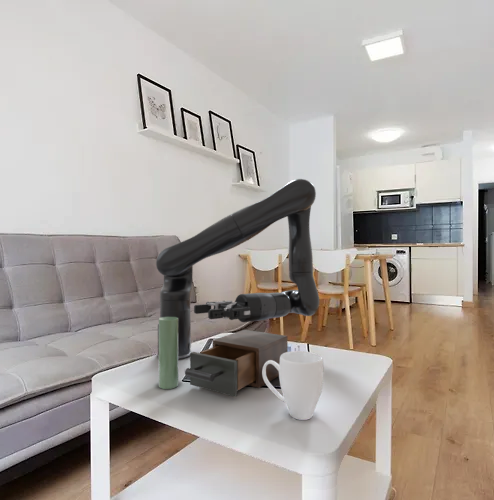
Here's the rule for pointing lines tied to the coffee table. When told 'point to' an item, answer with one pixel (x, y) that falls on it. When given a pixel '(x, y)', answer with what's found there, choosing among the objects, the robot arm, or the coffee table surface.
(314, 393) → the mug
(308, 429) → the coffee table surface
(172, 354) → the green cylinder
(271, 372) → the cabinet
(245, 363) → the drawer
